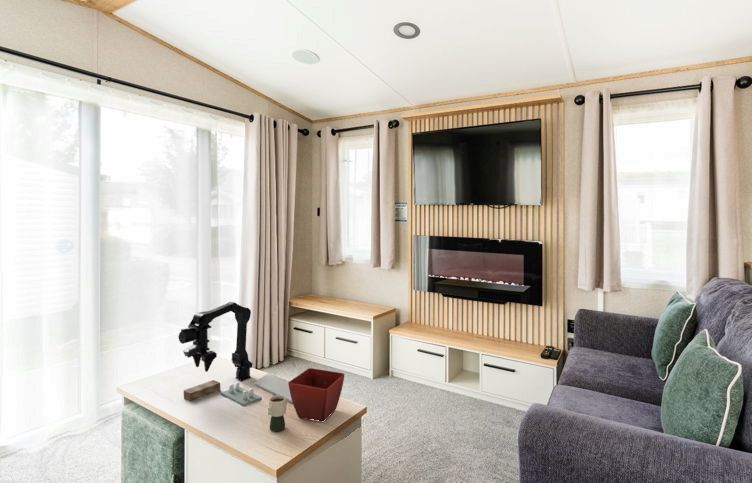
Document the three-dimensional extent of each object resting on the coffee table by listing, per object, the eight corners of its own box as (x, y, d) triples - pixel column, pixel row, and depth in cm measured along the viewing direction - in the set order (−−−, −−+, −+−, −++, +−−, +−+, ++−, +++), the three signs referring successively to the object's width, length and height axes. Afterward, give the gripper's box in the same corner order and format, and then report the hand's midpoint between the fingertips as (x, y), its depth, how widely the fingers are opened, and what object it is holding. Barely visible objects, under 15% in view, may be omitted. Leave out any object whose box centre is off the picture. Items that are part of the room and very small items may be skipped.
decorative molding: (296, 410, 191) (311, 398, 198) (293, 401, 190) (309, 390, 197) (255, 390, 213) (271, 380, 220) (253, 382, 212) (269, 372, 219)
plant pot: (326, 428, 169) (326, 389, 168) (287, 420, 175) (287, 382, 175) (345, 408, 187) (345, 373, 186) (309, 402, 193) (309, 367, 192)
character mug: (279, 421, 174) (279, 392, 174) (292, 425, 171) (292, 395, 170) (261, 432, 165) (261, 401, 164) (274, 437, 161) (274, 405, 161)
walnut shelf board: (213, 388, 209) (213, 379, 208) (220, 391, 205) (220, 382, 205) (183, 399, 196) (183, 390, 196) (190, 402, 192) (190, 393, 192)
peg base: (238, 388, 208) (238, 378, 208) (261, 399, 196) (261, 389, 196) (221, 394, 201) (220, 384, 200) (243, 406, 188) (243, 395, 188)
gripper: (176, 338, 199) (177, 369, 200) (194, 346, 187) (195, 378, 188) (198, 333, 207) (198, 363, 208) (216, 340, 196) (217, 372, 196)
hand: (201, 369), depth 200 cm, fingers open, 9 cm apart
